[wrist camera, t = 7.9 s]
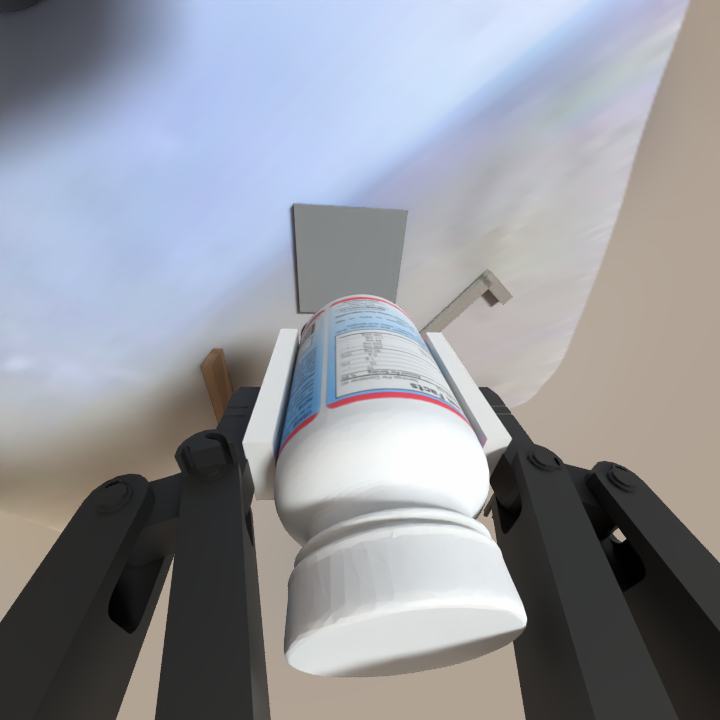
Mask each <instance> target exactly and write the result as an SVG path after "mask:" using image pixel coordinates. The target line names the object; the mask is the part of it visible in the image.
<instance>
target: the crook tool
mask: <svg viewBox="0 0 720 720" xmlns="http://www.w3.org/2000/svg"><path fill="white" fill-rule="evenodd" d="M487 290H489V291H490V292H491V293H492V294H493V296H494V297H495V298H496V299H497V300H498V301H499V302H500V303H501V304H503V305H504V304H505V303H506V302H507V301H508V300H510V299H511V298H512V297H513V296H512V295H511V294H510V293H509V292H508V290H507V289H506V288H505V287H504V286H503V285H502V283H501V282H500V281H499V280H498V279H497V278H496V276H495V275H494V274H493V273H492V272H491V271H489V270H487V271H486V272H484V273H483V274H482V275H481V276H480V277H479V278H478V279H477V280H476V281H475V282H474V283H473V284H472V285H470V286H469V287H468V288H467V289H466V290H465V291H464V292H463V293H462V294H461V295H460V296H459V297H458V298H456V299H455V300H454V301H453V302H452V303H451V304H450V305H449V306H448V307H447V308H446V309H445V310H444V311H442V312H441V313H440V314H439V315H438V316H437V317H436V318H435V319H434V320H433V321H432V322H431V323H430V324H428V325H427V326H426V327H425V328H424V329H423V330H422V331H421V332H420V333H419V334H420V336H421V337H422V339H423V341H424V339H425V335H426V332H439V333H440V332H441V331H442V330H443V329H444V328H445V327H446V326H448V325H449V324H450V323H451V322H452V321H453V320H454V319H455V318H457V317H458V316H459V315H460V314H461V313H462V312H463V311H464V310H465V309H467V308H468V307H469V306H470V305H471V304H472V303H473V302H474V301H475V300H477V299H478V298H479V297H480V296H481V295H482V294H483V293H484V292H485V291H487Z"/></svg>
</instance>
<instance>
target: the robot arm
mask: <svg viewBox="0 0 720 720" xmlns="http://www.w3.org/2000/svg"><path fill="white" fill-rule="evenodd" d="M38 1H40V0H0V12H9V11H15V10H20V9H23V8H27V7H29V6H31V5H33V4H35V3H37V2H38ZM424 342H425V344H426V346H427V348H428V350H429V352H430V353H431V355H432V357H433V359H434V360H435V362H436V364H437V365H438V367H439V369H440V371H441V373H442V375H443V376H444V378H445V380H446V382H447V384H448V385H449V387H450V389H451V391H452V393H453V394H454V396H455V398H456V400H457V402H458V404H459V405H460V407H461V409H462V411H463V413H464V414H465V416H466V418H467V419H468V421H469V423H470V425H471V427H472V429H473V430H474V432H475V434H476V436H477V438H478V440H479V442H480V444H481V446H482V449H483V451H484V453H485V456H486V459H487V463H488V468H489V483H490V485H491V487H492V489H493V491H494V494H493V495H492V497H491V499H490V501H489V503H488V504H487V506H486V508H485V509H484V516H486V517H487V516H488V514H489V513H490V511H491V509H492V514H493V516H492V518H493V520H494V526H495V532H496V539H497V545H498V547H499V548H500V550H501V552H502V556H503V560H504V562H505V565H506V567H507V569H508V572H509V574H510V576H511V579H512V581H513V583H514V585H515V588H516V590H517V592H518V594H519V597H520V599H521V601H522V603H523V606H524V610H525V613H526V616H527V623H526V628H525V629H524V631H523V632H522V634H520V635H519V636H518V637H517V638H516V639H515V640H514V641H513V644H514V650H515V656H516V662H517V668H518V675H519V681H520V687H521V693H522V699H523V705H524V711H525V717H526V720H720V563H719V562H718V561H717V560H716V559H715V557H714V556H713V555H712V554H711V553H710V552H709V551H708V550H707V549H706V548H705V547H704V546H703V545H702V544H701V543H700V541H699V540H698V539H697V538H696V537H695V536H694V535H693V534H692V533H691V532H690V531H689V530H688V529H687V527H686V526H685V525H684V524H683V523H682V522H681V521H680V520H679V519H678V518H677V517H676V516H675V515H674V514H673V513H672V512H671V510H670V509H669V508H668V507H667V506H666V505H665V504H664V503H663V502H662V501H661V500H660V498H659V497H658V496H657V495H656V494H655V493H654V492H653V491H652V490H651V489H650V488H649V487H648V486H647V485H646V483H645V482H644V481H643V480H641V479H640V478H639V477H638V476H637V475H636V474H635V473H633V472H631V471H630V470H628V469H626V468H625V467H623V466H621V465H618V464H616V463H613V462H607V461H602V462H598V463H597V464H596V465H595V466H594V467H593V468H592V470H587V469H583V468H579V467H575V466H571V465H567V464H564V463H563V462H562V460H561V459H560V458H559V457H558V456H557V455H556V454H555V453H553V452H552V451H550V450H548V449H547V448H545V447H542V446H539V445H536V444H534V443H533V442H532V440H531V439H530V438H529V436H528V435H527V434H526V432H525V431H524V430H523V428H522V427H521V425H520V424H519V423H518V421H517V420H516V419H515V417H514V416H513V415H511V412H510V410H509V409H508V408H507V407H505V404H504V402H503V401H502V400H501V398H500V397H499V396H498V395H497V394H496V393H495V392H493V391H492V390H491V389H489V388H488V387H477V385H476V384H475V382H474V381H473V379H472V378H471V376H470V375H469V373H468V372H467V370H466V369H465V367H464V366H463V364H462V363H461V361H460V360H459V358H458V357H457V355H456V354H455V353H454V351H453V350H452V348H451V347H450V345H449V344H448V342H447V341H446V339H445V338H444V336H443V335H442V333H439V332H426V335H425V339H424ZM298 349H299V339H298V329H281V330H280V333H279V336H278V339H277V342H276V345H275V348H274V351H273V354H272V357H271V360H270V363H269V366H268V369H267V372H266V374H265V377H264V380H263V383H262V386H261V387H241V388H240V389H239V390H238V391H236V392H235V393H234V394H233V395H232V396H231V398H230V400H229V402H228V405H227V408H226V409H225V411H224V413H223V417H222V418H221V420H220V422H219V424H218V426H217V429H214V430H205V431H202V432H199V433H196V434H194V435H193V436H191V437H189V438H188V439H186V440H185V441H184V442H183V443H182V444H181V445H180V446H179V447H178V449H177V451H176V454H175V459H176V461H177V463H178V465H179V467H180V470H181V473H178V474H175V475H173V476H169V477H166V478H162V479H159V480H155V481H152V482H148V481H147V479H146V478H144V477H143V476H141V475H138V474H127V475H122V476H118V477H115V478H113V479H111V480H109V481H107V482H105V483H103V484H102V485H100V486H99V487H98V488H96V489H95V490H93V491H92V493H91V494H90V495H89V496H88V497H87V498H86V499H85V500H84V501H83V503H82V504H81V506H80V507H79V509H78V510H77V512H76V513H75V515H74V516H73V517H72V519H71V520H70V522H69V523H68V525H67V526H66V528H65V529H64V531H63V532H62V534H61V535H60V536H59V538H58V539H57V541H56V542H55V544H54V545H53V547H52V548H51V550H50V551H49V553H48V554H47V555H46V557H45V558H44V560H43V561H42V563H41V564H40V566H39V567H38V568H37V570H36V572H35V573H34V574H33V576H32V577H31V579H30V580H29V582H28V583H27V585H26V586H25V587H24V589H23V590H22V592H21V593H20V595H19V596H18V598H17V599H16V601H15V602H14V604H13V605H12V606H11V608H10V609H9V611H8V612H7V614H6V615H5V617H4V618H3V620H2V621H1V622H0V720H116V718H117V715H118V712H119V709H120V706H121V704H122V701H123V698H124V695H125V692H126V689H127V687H128V684H129V681H130V678H131V675H132V673H133V670H134V667H135V664H136V661H137V658H138V655H139V653H140V650H141V647H142V644H143V641H144V639H145V636H146V633H147V630H148V627H149V625H150V622H151V619H152V616H153V613H154V610H155V608H156V605H157V602H158V599H159V596H160V594H161V591H162V588H163V585H164V582H165V579H166V577H167V574H168V571H169V568H170V565H171V562H172V560H173V557H174V563H173V572H172V580H171V589H170V597H169V606H168V614H167V622H166V631H165V639H164V648H163V656H162V664H161V673H160V681H159V689H158V697H157V706H156V715H155V720H271V718H270V707H269V696H268V685H267V673H266V662H265V651H264V640H263V629H262V617H261V606H260V595H259V583H258V572H257V561H256V549H255V540H254V539H255V538H254V527H253V517H252V511H251V507H250V506H251V502H252V498H253V494H254V493H255V497H256V500H274V480H275V473H276V465H277V460H278V455H279V449H280V444H281V438H282V433H283V428H284V422H285V417H286V412H287V407H288V402H289V397H290V391H291V386H292V381H293V375H294V370H295V365H296V360H297V354H298ZM618 528H619V529H620V530H621V532H622V533H623V534H624V536H625V537H626V540H625V541H623V542H621V541H619V540H618V539H617V538H616V537H615V536H614V535H613V532H614V531H615V530H616V529H618ZM174 554H175V555H174Z"/></svg>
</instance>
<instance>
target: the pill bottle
mask: <svg viewBox="0 0 720 720" xmlns="http://www.w3.org/2000/svg"><path fill="white" fill-rule="evenodd" d="M488 490H489V468H488V463H487V459H486V456H485V453H484V451H483V449H482V446H481V444H480V442H479V440H478V438H477V436H476V434H475V432H474V430H473V429H472V427H471V425H470V423H469V421H468V419H467V418H466V416H465V414H464V413H463V411H462V409H461V407H460V405H459V404H458V402H457V400H456V398H455V396H454V394H453V393H452V391H451V389H450V387H449V385H448V384H447V382H446V380H445V378H444V376H443V375H442V373H441V371H440V369H439V367H438V365H437V364H436V362H435V360H434V359H433V357H432V355H431V353H430V352H429V350H428V348H427V346H426V344H425V342H424V341H423V339H422V337H421V336H420V334H419V332H418V330H417V328H416V327H415V325H414V323H413V322H412V320H411V319H410V318H409V317H408V315H407V314H406V313H405V312H404V311H403V310H402V309H401V308H399V307H398V306H397V305H395V304H394V303H392V302H390V301H388V300H386V299H384V298H381V297H378V296H373V295H365V294H358V295H350V296H345V297H342V298H339V299H336V300H334V301H332V302H330V303H328V304H326V305H325V306H323V307H322V308H321V309H319V310H318V311H317V312H316V313H315V314H314V315H313V316H312V317H311V319H310V320H309V322H308V323H307V325H306V326H305V329H304V331H303V333H302V336H301V340H300V345H299V349H298V354H297V360H296V365H295V370H294V375H293V381H292V386H291V391H290V397H289V402H288V407H287V412H286V417H285V422H284V428H283V433H282V438H281V444H280V449H279V455H278V460H277V465H276V473H275V480H274V500H275V505H276V510H277V513H278V516H279V518H280V520H281V522H282V524H283V526H284V527H285V529H286V531H287V532H288V533H289V535H290V536H291V537H292V538H293V539H294V540H295V541H296V542H297V543H299V544H300V545H301V546H302V549H301V550H300V551H299V553H298V555H297V557H296V559H295V563H294V570H293V571H292V573H291V575H290V578H289V582H288V606H287V616H286V626H285V627H286V628H285V637H284V638H285V639H284V654H285V659H286V661H287V662H288V663H289V664H290V665H291V666H293V667H294V668H296V669H298V670H301V671H303V672H306V673H310V674H315V675H320V676H329V677H330V676H331V677H377V676H390V675H399V674H407V673H415V672H420V671H425V670H431V669H437V668H442V667H446V666H451V665H455V664H459V663H462V662H465V661H469V660H472V659H475V658H478V657H480V656H483V655H486V654H488V653H490V652H493V651H495V650H498V649H500V648H502V647H504V646H506V645H508V644H509V643H510V642H512V641H514V640H515V639H516V638H517V637H518V636H519V635H520V634H522V632H523V631H524V629H525V628H526V623H527V616H526V613H525V610H524V606H523V603H522V601H521V599H520V597H519V594H518V592H517V590H516V588H515V585H514V583H513V581H512V579H511V576H510V574H509V572H508V569H507V567H506V565H505V562H504V560H503V556H502V552H501V550H500V548H499V547H498V546H497V544H496V543H495V542H494V541H493V540H492V539H491V536H490V534H489V531H488V530H487V529H486V528H485V527H484V525H482V524H481V523H480V522H478V521H477V520H476V519H477V518H478V516H479V514H480V513H481V511H482V509H483V507H484V505H485V502H486V499H487V495H488Z"/></svg>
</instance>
